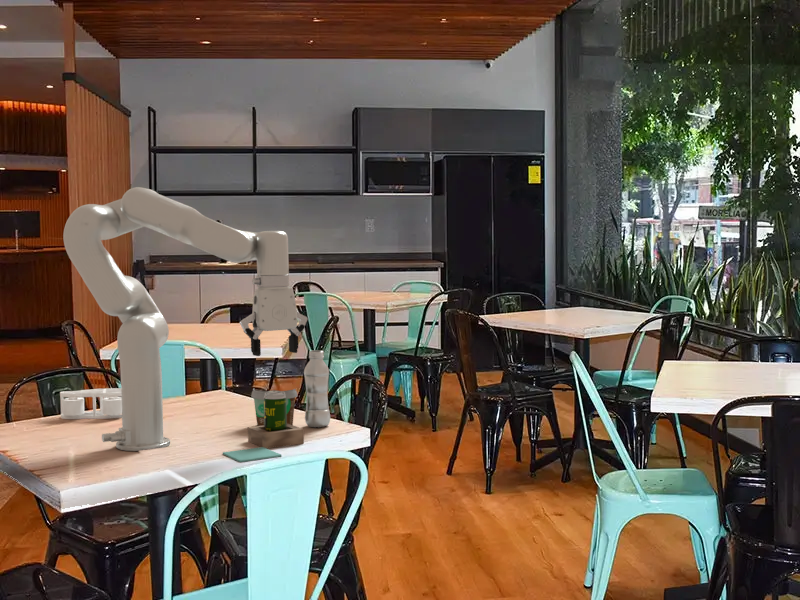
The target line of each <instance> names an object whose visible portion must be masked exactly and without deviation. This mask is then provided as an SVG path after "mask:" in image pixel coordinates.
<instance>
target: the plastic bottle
mask: <svg viewBox="0 0 800 600" xmlns="http://www.w3.org/2000/svg"><path fill="white" fill-rule="evenodd" d="M324 353H325V352H324V350H321V349H320V350H317V349H314V350H309V353H308V359H309V361H308V362H307V364H306V365H305V367H304V370H303V375H304V382H305V392H306V405H305V406H306V407H305V408H306V409H305V413H304V420H305V421H304V422H305V424H306V425H307V426H308V427H311V428H316V427H318V428H323V427H326V426H329V424H330V422H331V414H330V413H331V411H330V408H329V400H328V398H329V397H328V390H329V389H328V386H329V378H330V377H329V375H330V369H329V367H328V365H327V364H326V362H325V361H324V358H325V356H324V355H325V354H324Z"/></svg>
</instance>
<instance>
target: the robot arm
mask: <svg viewBox="0 0 800 600" xmlns="http://www.w3.org/2000/svg"><path fill="white" fill-rule="evenodd" d="M63 228H64V229H63V233H62V234H63V235H62V237H63V244H64V249H65V251H66V253H67V256H68V258H69V259H70V261H71V263H72V265H73V266H74V267H75V269H76V271H77V272H78V274H79V275H80V277H81V278H82V281H83V283H84V284H85V286H86V287H87V289H88V290H89V292H90V293H91V295H92V296H93V298H94V300H95V301H96V303H97V305H98V307H99V308H100V309H101V311H102V312H104V314H106V315H108V316H112V317H118V319H119V320H120V322H121V323H122V324H121V325H120V327H119V329H118V331H117V339H116V340H117V341H116V342H117V350H118V351H117V352H118V357H119V365H120V367H119V368H120V384H121V385H120V386H121V387H120V388H121V395H122V396H121V397H122V418H121V422H122V423H121V424H122V425H121V427H119V428H118V430H116V431H114V432H113V433H112V432H111V433H110V432H108V433H102V434H101V441H102V442H103V443H105V442H106V443H107V442H111V443H115V447H116V449H118V450H121V451H127V452H139V451H146V450H155V449H163V448H166V447H169V446H170V444H171V439H170V438H168V437H165V436H164V412H163V411H164V410H163V409H164V406H163V402H164V401H163V373H162V360H161V354H160V353H161V352H160V348H162V347H163V346H164V345H165V344H166V343H167V341H168V338H169V332H170V329H169V325H168V322H167V320H166V319H165V317H164V316H163V314H162V312H161V310H160V309H159V307H158V306H157V304H156V303H155V301H154V299H153V298H152V297H151V295H150V293H149V292H148V290H147V289H146V288H145V286H144V285H143V283H141V282H140V280H138V279H137V278H135V277H132V276H131V275H130V276H129V275H125V274H124V272H122V271H121V269H120V268H119V266H118V264H117V263H116V261H115V259H114V258H113V256H112V254H110V252H109V251H108V250H107V249H106V247H105V246H104V244H103V242H102V241H106V240H107V241H108V240H111V239H114V238H117V237H120V236H123V235H125V234H128V233H130V232H133V231H135V230H138V229H141V228H147V229H150V230H152V231H155V232H157V233H160V234H162V235H165V236H167V237H169V238H172V239H174V240H176V241H179V242H181V243H182V244H186V245H189V246H191V247H193V248H196V249H199V250H201V251H203V252H205V253H207V254H211V255H213V256H216V258H217V257H218V258H220V259H223V260H225V261H227V262H231V263H245V262H251V261H256V271H257V273H256V278H252V280H251V282H252V285H256V287H257V288H255V289H254V293H253V299H252V301H253V302H252V313H251V314H249V315H248V316H246V317H245V318H242V319H241V320H240V321H239V324H240V326H241V329H242V330H243V332H244V333H245V334H246V335H247V336H248V338H249V340H250V351H251V353H252V355H253V356H256V357H261V354H262V353H261V351H262V350H261V347H262V346H261V339H260V336H261V335H262V333H263V332H272V331H284V330H285V331H288V333H289V334H290V335H288V351H289V353H294V354H297V353H298V349H299V336H301V333H302V331H303V330H304V329H305V326H306V324H307V322H308V320H309V319H308V317H307V316H306V315H303V314H301V313H299V312H298V311H297V302H296V297H295V294H294V289H293V287H290V271H289V270H290V269H289V268H290V267H289V265H290V264H289V236H288V234H287V232H285V231H282V230H265V231H263V230H262V231H259V232H255V231H254V232H253V231H247V230H239V229H236V228H235V227H234V228H233V227H231V226H228V225H225V224H224V223H221V222H218V221H217V220H214V219H212V218H209V217H207V216H206V215H203V214H202V213H201V212H199V211H198V210H197V209H195V208H194V207H191V205H190V206H189V205H187V204H184V203H182V202H179V201H177V200H175V199H171V198H169V197H167V196H165V195H162V194H159V193H158V192H156V191H155V190H153V189H150V188H145V187H141V186H140V187H139V186H136V187H132V188H130V189H128V190H126V192H124V194H123V195H122V198H119V199H117V200H113V201H112V202H108V203H106V204H96V203H88V204H83V205H80V206H79V207H76V209H75V210H73V211H72V212H71V214H70V215H69V216H68V218H67V220H66V223H65V225H64V227H63ZM298 320H299V322H298ZM250 323H252V328H253V329H251V328H250V326H249V324H250Z"/></svg>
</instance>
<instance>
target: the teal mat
mask: <svg viewBox="0 0 800 600" xmlns="http://www.w3.org/2000/svg"><path fill="white" fill-rule="evenodd" d="M222 455H223V456H225V457H228V458H230V459H232V460H235V461H237V462H238V463H245V462H253V461H260V460H265V459H273V458H279V457H282V454H280V453H279V452H276V451H274V450H271V449H270V448H268V449H266V448H264V447H260V446H258V447H252V448H246V449H237V450H232V451H223V452H222Z"/></svg>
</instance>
